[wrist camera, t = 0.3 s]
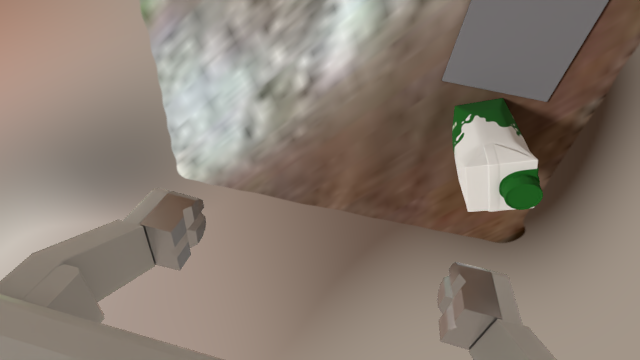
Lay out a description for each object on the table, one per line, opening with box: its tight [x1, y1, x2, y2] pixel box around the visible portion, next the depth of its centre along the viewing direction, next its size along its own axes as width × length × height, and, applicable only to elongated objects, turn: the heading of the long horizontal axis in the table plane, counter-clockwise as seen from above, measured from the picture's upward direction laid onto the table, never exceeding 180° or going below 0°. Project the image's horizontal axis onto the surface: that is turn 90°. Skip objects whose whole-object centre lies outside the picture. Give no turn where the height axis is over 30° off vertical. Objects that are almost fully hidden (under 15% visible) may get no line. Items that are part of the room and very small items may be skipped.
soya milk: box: [452, 98, 543, 212], centre depth 48 cm, size 9×9×20 cm
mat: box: [442, 0, 609, 102], centre depth 46 cm, size 17×16×1 cm
